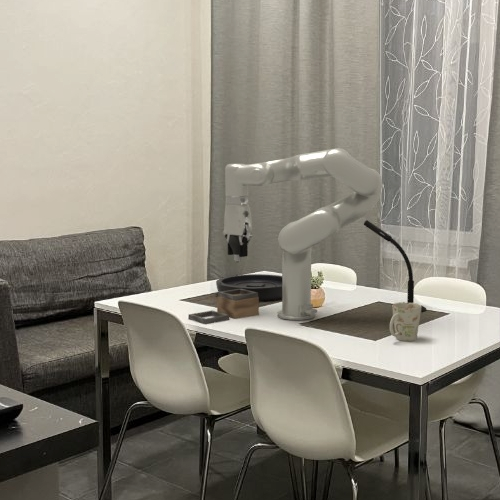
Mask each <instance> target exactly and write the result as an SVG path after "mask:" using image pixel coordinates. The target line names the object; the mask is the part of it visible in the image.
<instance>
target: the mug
mask: <svg viewBox="0 0 500 500" xmlns="http://www.w3.org/2000/svg"><path fill="white" fill-rule="evenodd" d="M421 314H422V312H421V304H419V303H415V302H414V303H407V302H405V303H403V302H395V303H393V304H392V317H391V319H390V322H389V332H390V334H391V336H392V337H394V338H395V340H397V341H400V342H414V341H416V340H417V338H418V332H419V326H420V319H421Z"/></svg>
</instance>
